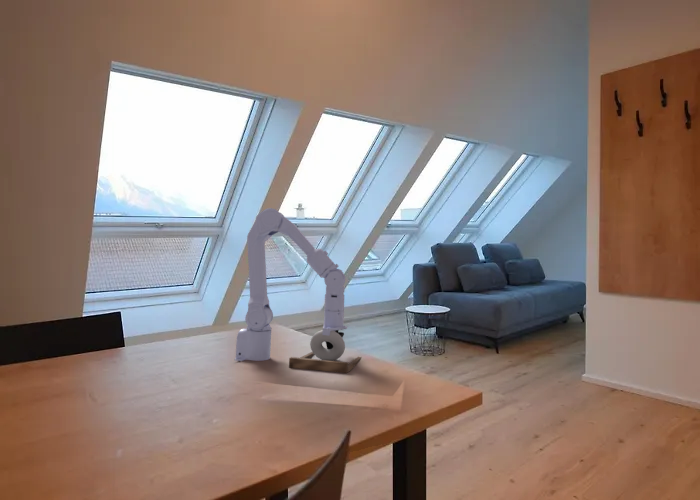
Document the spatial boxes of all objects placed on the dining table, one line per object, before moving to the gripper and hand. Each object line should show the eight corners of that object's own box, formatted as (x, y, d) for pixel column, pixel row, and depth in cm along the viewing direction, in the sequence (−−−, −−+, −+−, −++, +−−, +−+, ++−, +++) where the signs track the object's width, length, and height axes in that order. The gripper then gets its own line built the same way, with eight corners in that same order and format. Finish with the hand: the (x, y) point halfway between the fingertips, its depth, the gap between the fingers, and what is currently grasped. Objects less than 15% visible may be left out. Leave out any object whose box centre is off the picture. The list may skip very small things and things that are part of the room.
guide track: (288, 367, 127) (289, 357, 127) (311, 356, 145) (311, 347, 145) (346, 373, 123) (346, 363, 123) (362, 360, 141) (362, 352, 141)
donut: (345, 358, 137) (346, 329, 133) (343, 365, 134) (344, 336, 130) (311, 353, 139) (312, 324, 134) (308, 360, 136) (309, 331, 131)
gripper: (340, 313, 130) (338, 363, 130) (353, 309, 144) (352, 354, 144) (316, 311, 132) (314, 361, 132) (331, 307, 146) (329, 352, 146)
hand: (332, 357), depth 138 cm, fingers closed
